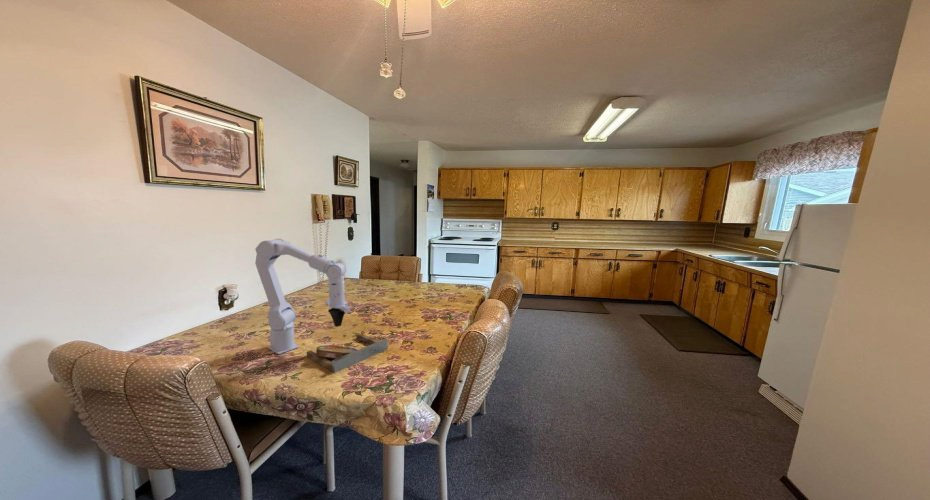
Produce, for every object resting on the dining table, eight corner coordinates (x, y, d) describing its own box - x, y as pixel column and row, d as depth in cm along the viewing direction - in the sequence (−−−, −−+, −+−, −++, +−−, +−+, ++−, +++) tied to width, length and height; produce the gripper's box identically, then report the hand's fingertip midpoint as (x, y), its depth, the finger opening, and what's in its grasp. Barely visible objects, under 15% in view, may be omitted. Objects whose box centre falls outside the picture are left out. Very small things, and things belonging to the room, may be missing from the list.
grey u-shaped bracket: (306, 356, 115) (306, 346, 114) (359, 337, 133) (359, 328, 133) (334, 372, 104) (334, 361, 103) (387, 349, 122) (387, 339, 122)
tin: (361, 348, 117) (351, 351, 109) (359, 357, 116) (349, 361, 108) (324, 344, 118) (312, 346, 110) (323, 352, 118) (310, 355, 110)
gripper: (356, 294, 119) (357, 327, 120) (336, 288, 127) (337, 319, 129) (340, 298, 113) (341, 332, 115) (319, 291, 122) (321, 323, 123)
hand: (338, 325), depth 121 cm, fingers closed
